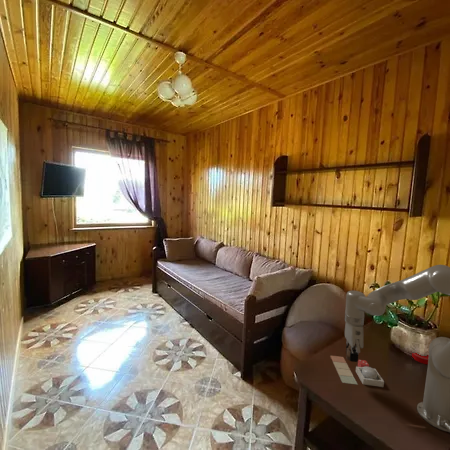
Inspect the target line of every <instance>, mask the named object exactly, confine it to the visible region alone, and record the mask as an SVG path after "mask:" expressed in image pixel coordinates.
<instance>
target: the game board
mask: <svg viewBox="0 0 450 450" xmlns="http://www.w3.org/2000/svg"><path fill="white" fill-rule="evenodd" d="M330 359H331V360H332V363H333V365H334V367H335V370H336V372H337V374H338V376H339V378H340V381H341V383H343V384H351V385H356V386H357V385H359V384H358V382H357V381H356V379H355V377H354V375H353V372H352V371H351V368H350V367H349V364H348V363H347V361H346V359H345V358H344V356H337V355H330Z"/></svg>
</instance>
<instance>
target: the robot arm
mask: <svg viewBox="0 0 450 450" xmlns="http://www.w3.org/2000/svg"><path fill="white" fill-rule="evenodd" d="M436 293H441V294H444V295H447V296H450V266H448V265H446V264H436V265H433V266H430V267H428V268H426V269H424V270H421V271H420V272H417V273H415V274H413V275H410V276H408V277H405V278H403V279H401V280H398V281H395V282H391V283H388V284H386V285H383V286H380V287H379V288H376V289H375V290H373V291H371V292H370V293H369V294H367V296H366V295H365V293H364V292H362V291H359V290H349V291H347V292H346V294H345V295H346V298H345V311H344V322H345V326H344V338H345V339H346V343H345V344H346V346H345V353H346V352H347V348H348V346H349V345H350V346H351V352H350V361H349V362H353V363H355V362H356V363H358V360H359V354H360V353H361V349H363V348H364V323H365V322H364V321H365V313H366V314H368V315H371V316H376V317H379V316H382V315H384V313H386V308H387V305H389V304H392V303H395V302H397V301H400V300H402V301H403V300H409V301H418V300H420V299H423V298H425V297H428V296H430V295H433V294H436ZM353 348H356V349H354V350H353ZM428 352H429V358H428V365H427V371H426V377H425V385H424V391H423V392H424V393H423V401H421V402H419V403H418V404H417V406H416V411H417V413H418V414H419V416H420V417H421V418H422V419H424V421H426V422H427V423H428V424H429V425H431V426H432V427H434V428H436V429H439V430H440V431H444V432H448V433H450V338H449V337H445V336H439V337H435V338H433V339H432V340H431V341H430V343H429V347H428Z"/></svg>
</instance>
